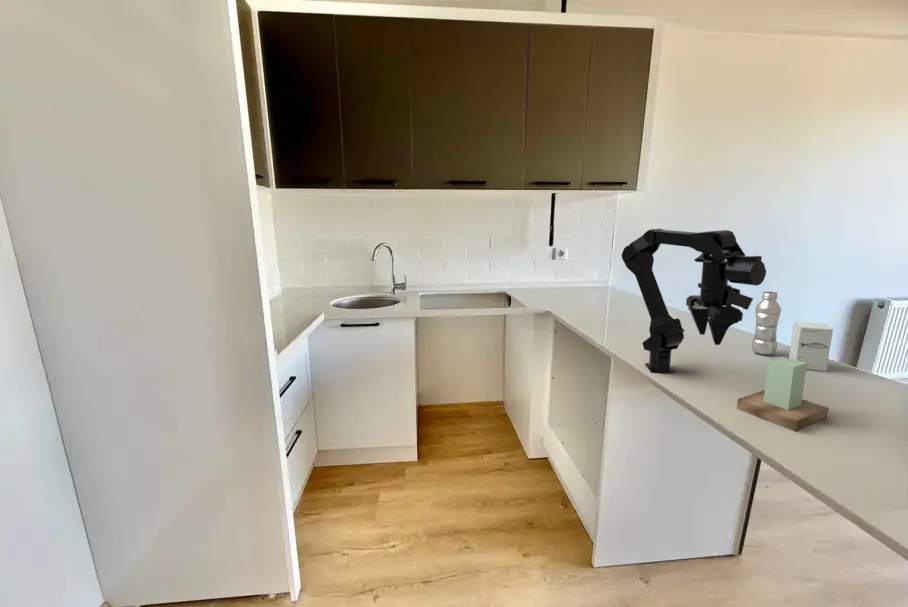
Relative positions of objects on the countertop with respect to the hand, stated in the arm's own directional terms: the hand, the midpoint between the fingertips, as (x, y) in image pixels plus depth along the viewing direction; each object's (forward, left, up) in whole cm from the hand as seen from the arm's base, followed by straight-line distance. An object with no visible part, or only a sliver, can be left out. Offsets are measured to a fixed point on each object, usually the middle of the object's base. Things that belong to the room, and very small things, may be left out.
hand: (709, 339), depth 107 cm
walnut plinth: (+15, +10, -13) cm, 22 cm away
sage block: (+15, +10, -10) cm, 21 cm away
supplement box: (-17, +34, -13) cm, 40 cm away
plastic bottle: (-28, +28, -13) cm, 42 cm away
